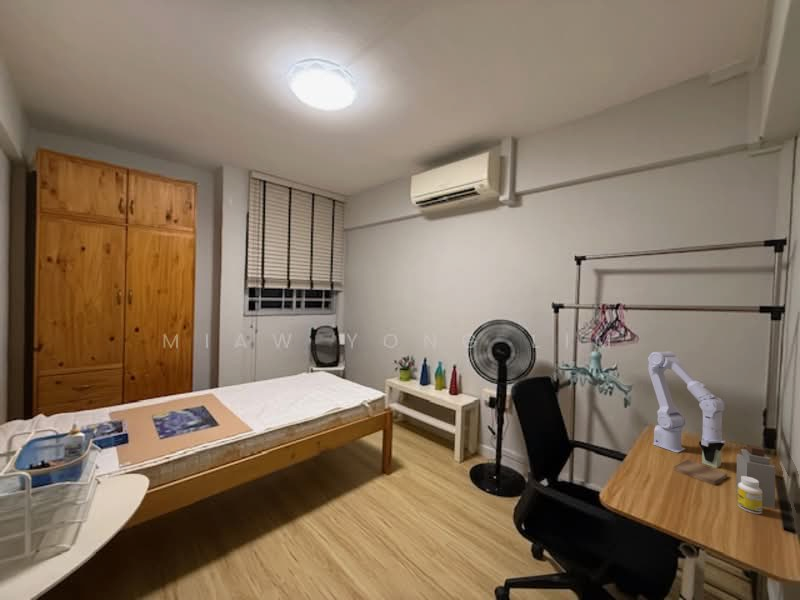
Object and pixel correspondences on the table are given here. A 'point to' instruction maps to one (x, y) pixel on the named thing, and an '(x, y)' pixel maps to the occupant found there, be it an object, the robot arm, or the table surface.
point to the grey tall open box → (758, 472)
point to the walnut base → (701, 472)
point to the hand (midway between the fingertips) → (711, 459)
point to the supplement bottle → (750, 495)
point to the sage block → (716, 459)
